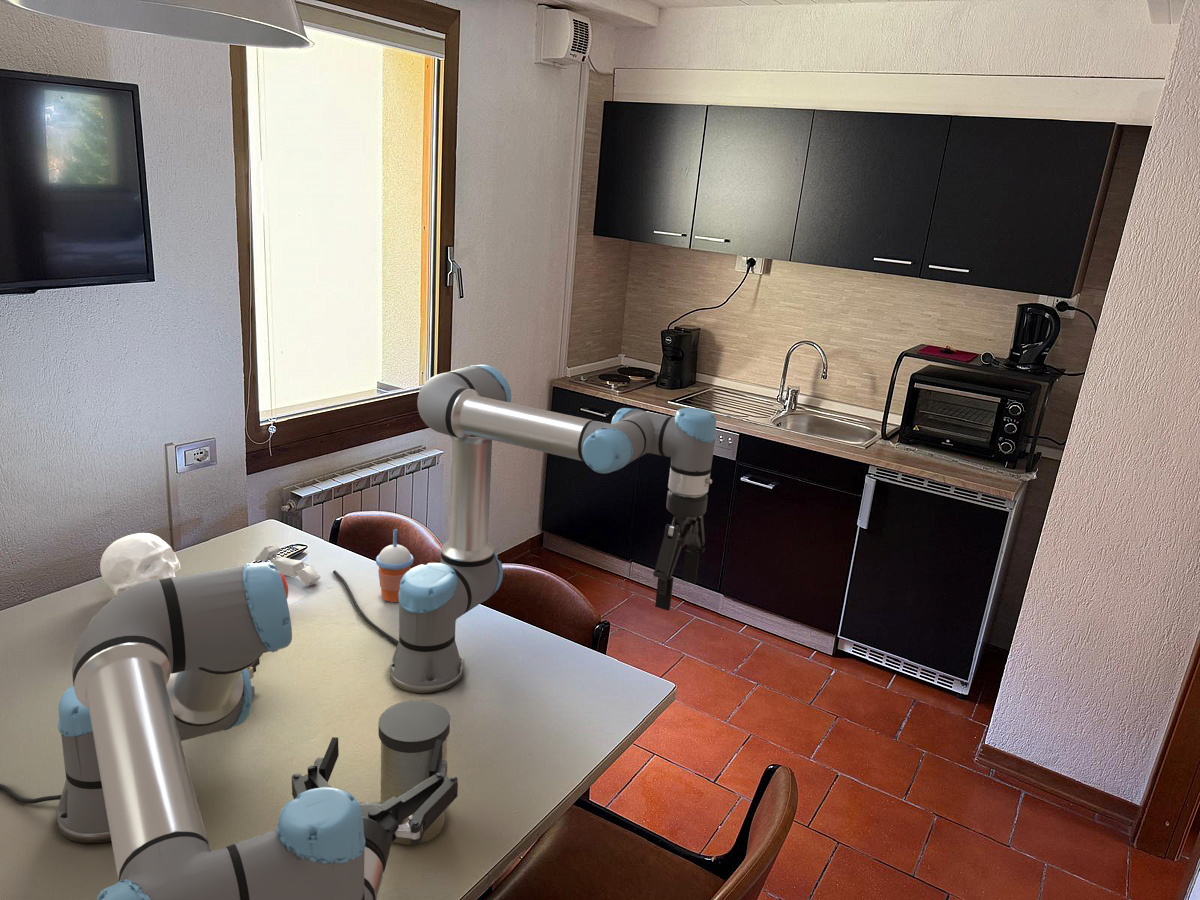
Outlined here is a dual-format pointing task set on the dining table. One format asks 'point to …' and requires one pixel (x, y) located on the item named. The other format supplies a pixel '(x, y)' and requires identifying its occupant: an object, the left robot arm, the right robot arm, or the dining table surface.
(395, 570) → the cup with straw
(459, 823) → the dining table surface
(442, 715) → the lid
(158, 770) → the left robot arm
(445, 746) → the jar
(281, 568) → the clamp
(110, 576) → the skull
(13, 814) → the dining table surface
